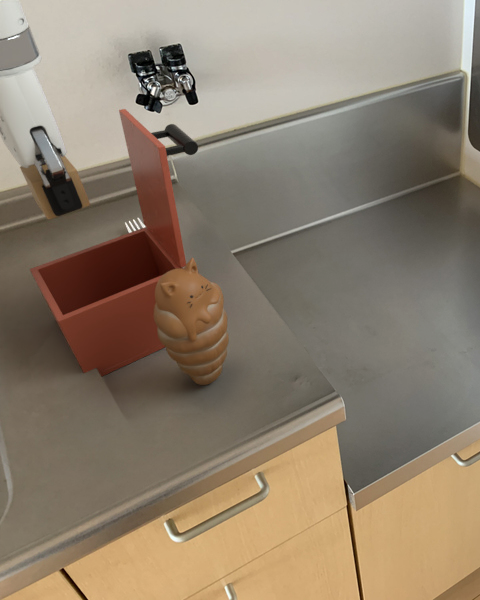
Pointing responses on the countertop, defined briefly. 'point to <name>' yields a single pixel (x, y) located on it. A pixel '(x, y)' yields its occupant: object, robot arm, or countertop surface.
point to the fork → (135, 224)
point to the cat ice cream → (192, 322)
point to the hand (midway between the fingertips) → (61, 200)
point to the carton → (36, 184)
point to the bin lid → (157, 179)
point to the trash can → (107, 299)
